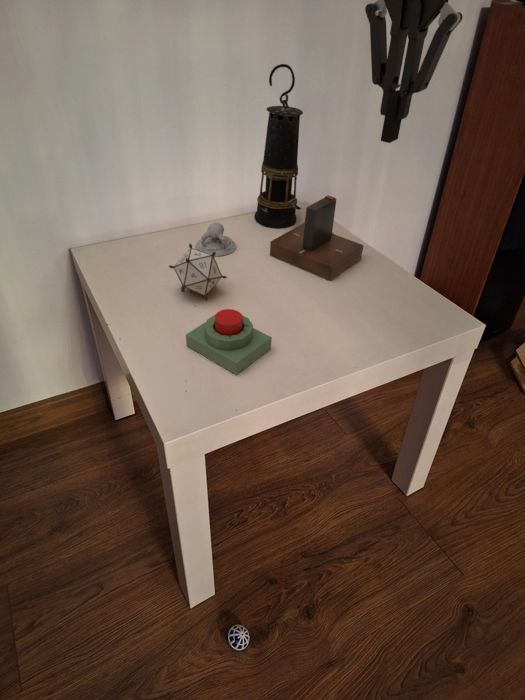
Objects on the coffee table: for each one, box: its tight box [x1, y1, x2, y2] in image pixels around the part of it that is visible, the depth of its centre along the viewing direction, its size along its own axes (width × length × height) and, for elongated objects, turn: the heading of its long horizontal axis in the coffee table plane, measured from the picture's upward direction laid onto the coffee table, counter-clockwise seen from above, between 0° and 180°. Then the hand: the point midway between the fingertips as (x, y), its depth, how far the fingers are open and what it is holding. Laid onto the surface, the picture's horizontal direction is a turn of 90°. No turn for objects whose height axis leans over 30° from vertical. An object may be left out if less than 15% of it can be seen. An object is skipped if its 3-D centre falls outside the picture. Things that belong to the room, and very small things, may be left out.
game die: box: [168, 242, 228, 302], centre depth 89 cm, size 9×8×10 cm
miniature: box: [194, 222, 237, 257], centre depth 103 cm, size 8×8×5 cm
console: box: [269, 222, 364, 282], centre depth 102 cm, size 14×11×3 cm
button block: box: [185, 314, 272, 376], centre depth 79 cm, size 10×8×4 cm
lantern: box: [254, 63, 304, 229], centre depth 106 cm, size 9×9×30 cm
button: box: [214, 308, 243, 336], centre depth 77 cm, size 4×4×2 cm
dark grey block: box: [303, 194, 337, 251], centre depth 98 cm, size 7×2×8 cm, turn 142°
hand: (389, 139), depth 79 cm, fingers closed
